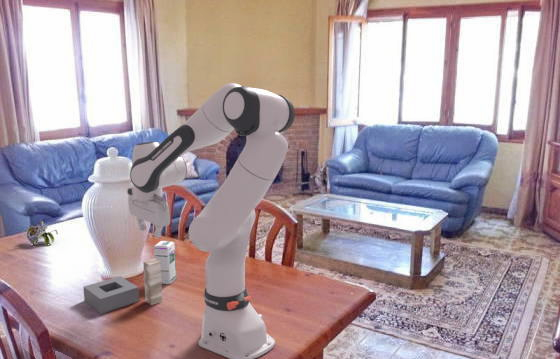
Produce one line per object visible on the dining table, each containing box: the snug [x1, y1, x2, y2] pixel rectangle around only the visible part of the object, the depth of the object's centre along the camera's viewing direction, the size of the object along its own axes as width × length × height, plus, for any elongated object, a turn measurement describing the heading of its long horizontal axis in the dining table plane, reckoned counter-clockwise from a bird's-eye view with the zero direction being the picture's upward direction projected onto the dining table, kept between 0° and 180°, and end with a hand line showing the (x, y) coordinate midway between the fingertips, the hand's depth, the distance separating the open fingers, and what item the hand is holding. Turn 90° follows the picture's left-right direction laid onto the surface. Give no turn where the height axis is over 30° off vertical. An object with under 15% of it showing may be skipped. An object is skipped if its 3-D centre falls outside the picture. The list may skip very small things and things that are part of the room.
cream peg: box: [142, 258, 163, 306], centre depth 163 cm, size 4×4×14 cm
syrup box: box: [153, 240, 178, 285], centre depth 179 cm, size 6×6×14 cm
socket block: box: [83, 275, 140, 315], centre depth 164 cm, size 13×13×5 cm
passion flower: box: [25, 220, 59, 245], centre depth 221 cm, size 11×11×12 cm
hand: (150, 233), depth 159 cm, fingers open, 8 cm apart
